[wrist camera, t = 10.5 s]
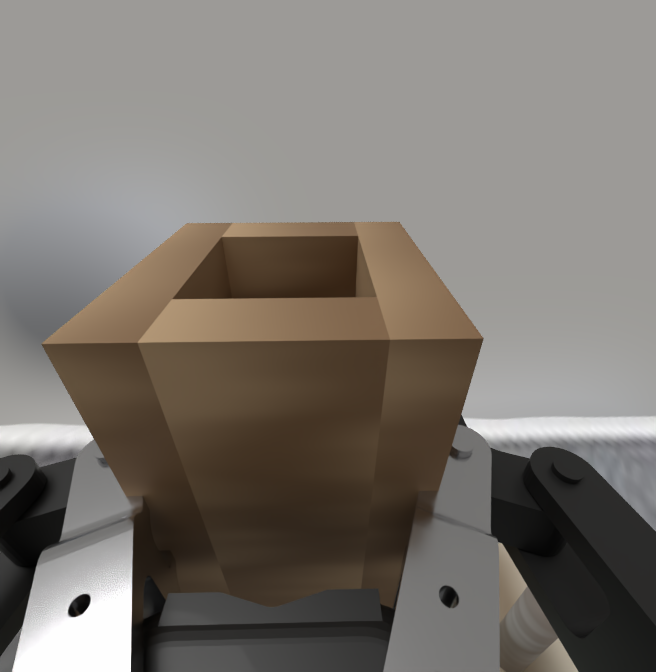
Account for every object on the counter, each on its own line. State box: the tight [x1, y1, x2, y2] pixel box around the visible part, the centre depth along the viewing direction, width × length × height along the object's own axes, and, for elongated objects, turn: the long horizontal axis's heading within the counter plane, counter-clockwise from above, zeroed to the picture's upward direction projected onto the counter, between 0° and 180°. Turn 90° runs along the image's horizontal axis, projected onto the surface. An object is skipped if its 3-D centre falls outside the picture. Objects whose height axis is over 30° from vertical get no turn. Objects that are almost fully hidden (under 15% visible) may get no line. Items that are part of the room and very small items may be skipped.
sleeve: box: [42, 222, 483, 608], centre depth 10 cm, size 6×6×12 cm
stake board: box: [498, 543, 578, 672], centre depth 19 cm, size 10×12×8 cm
